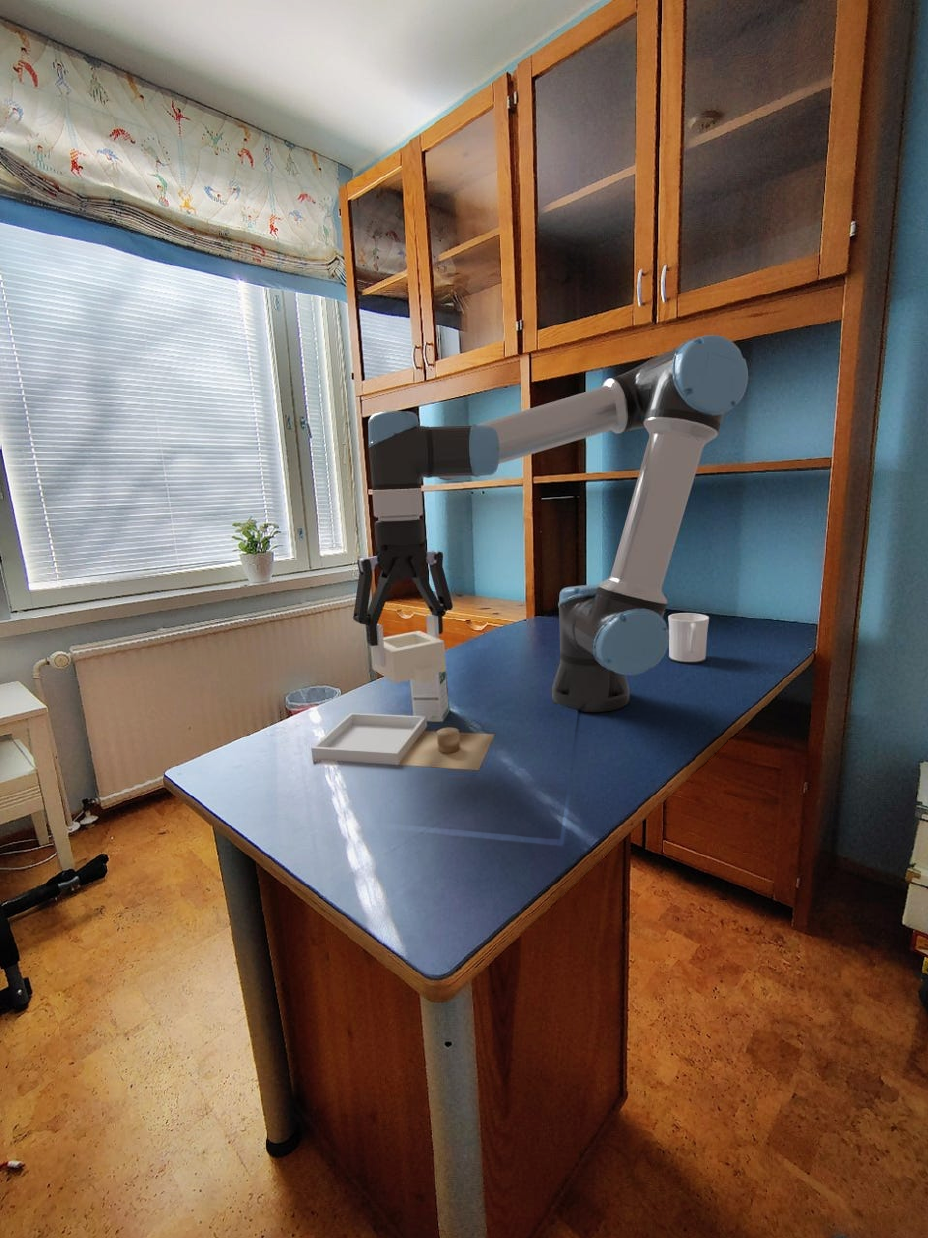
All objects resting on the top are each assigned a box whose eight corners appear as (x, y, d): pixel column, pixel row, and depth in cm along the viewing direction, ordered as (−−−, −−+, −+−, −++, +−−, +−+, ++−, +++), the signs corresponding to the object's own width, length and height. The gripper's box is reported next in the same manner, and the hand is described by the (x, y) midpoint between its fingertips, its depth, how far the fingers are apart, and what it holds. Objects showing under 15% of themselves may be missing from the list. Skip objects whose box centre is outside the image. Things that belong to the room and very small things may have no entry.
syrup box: (443, 724, 106) (438, 649, 103) (412, 723, 107) (406, 649, 104) (450, 713, 112) (445, 641, 109) (420, 712, 113) (415, 641, 110)
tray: (427, 729, 105) (426, 716, 104) (398, 768, 90) (397, 753, 90) (351, 725, 108) (350, 713, 108) (312, 762, 94) (311, 748, 94)
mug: (663, 654, 141) (664, 613, 139) (701, 653, 140) (703, 612, 138) (673, 667, 131) (674, 624, 129) (714, 667, 130) (716, 623, 127)
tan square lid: (495, 737, 100) (494, 718, 99) (478, 773, 87) (477, 752, 86) (423, 733, 103) (422, 715, 102) (398, 768, 90) (396, 747, 90)
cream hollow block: (421, 658, 99) (418, 630, 98) (453, 675, 90) (452, 644, 89) (372, 669, 95) (369, 640, 94) (401, 687, 85) (399, 655, 84)
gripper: (448, 514, 97) (454, 643, 102) (322, 522, 86) (335, 665, 91) (471, 515, 90) (476, 652, 95) (338, 523, 80) (351, 678, 84)
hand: (407, 658), depth 93 cm, fingers closed on cream hollow block, 9 cm apart
